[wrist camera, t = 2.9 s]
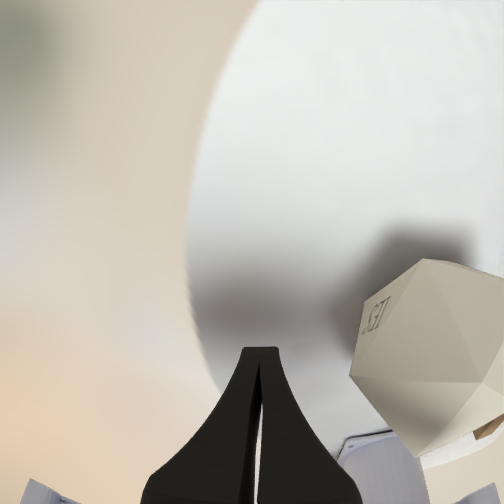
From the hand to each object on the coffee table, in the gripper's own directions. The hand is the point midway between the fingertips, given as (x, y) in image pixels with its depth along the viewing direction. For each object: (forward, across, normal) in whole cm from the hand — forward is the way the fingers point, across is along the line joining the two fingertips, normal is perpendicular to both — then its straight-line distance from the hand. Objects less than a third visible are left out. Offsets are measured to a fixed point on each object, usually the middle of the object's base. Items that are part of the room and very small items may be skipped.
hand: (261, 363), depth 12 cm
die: (+4, -8, 0) cm, 9 cm away
